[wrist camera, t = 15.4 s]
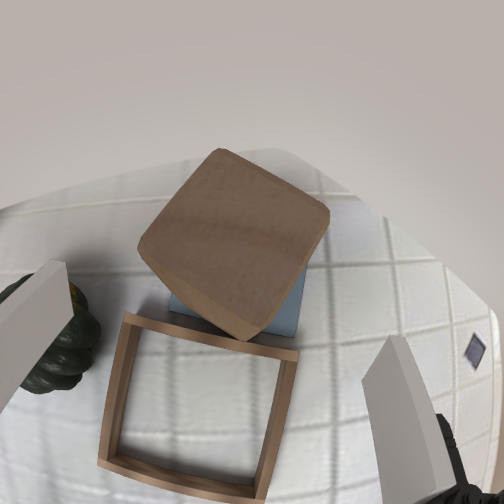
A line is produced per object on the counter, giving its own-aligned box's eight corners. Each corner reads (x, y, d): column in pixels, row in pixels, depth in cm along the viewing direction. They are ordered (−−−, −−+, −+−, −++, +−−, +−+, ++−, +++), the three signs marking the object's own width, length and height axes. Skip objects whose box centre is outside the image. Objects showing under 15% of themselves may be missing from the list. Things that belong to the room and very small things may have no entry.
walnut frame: (108, 456, 30) (97, 465, 26) (135, 315, 36) (125, 311, 33) (259, 494, 30) (263, 507, 26) (292, 351, 36) (299, 351, 33)
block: (222, 238, 40) (217, 138, 21) (287, 278, 39) (339, 206, 20) (177, 300, 37) (127, 246, 18) (245, 345, 36) (262, 337, 17)
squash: (127, 377, 29) (27, 281, 20) (46, 429, 26) (-48, 357, 17) (112, 309, 40) (47, 229, 32) (46, 358, 37) (-20, 292, 29)
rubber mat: (168, 310, 37) (167, 310, 36) (200, 199, 42) (199, 197, 42) (293, 337, 37) (294, 337, 36) (311, 223, 42) (312, 221, 42)
